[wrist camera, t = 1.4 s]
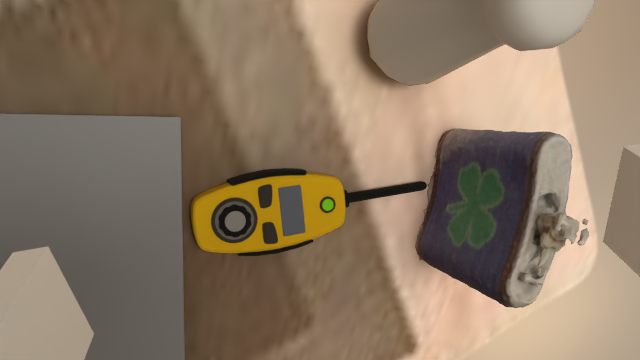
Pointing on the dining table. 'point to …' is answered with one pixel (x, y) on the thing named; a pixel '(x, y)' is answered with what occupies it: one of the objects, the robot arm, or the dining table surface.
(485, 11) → the salt shaker
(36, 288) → the robot arm
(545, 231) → the flask
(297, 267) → the dining table surface
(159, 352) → the plate
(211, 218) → the yellow walkie-talkie
